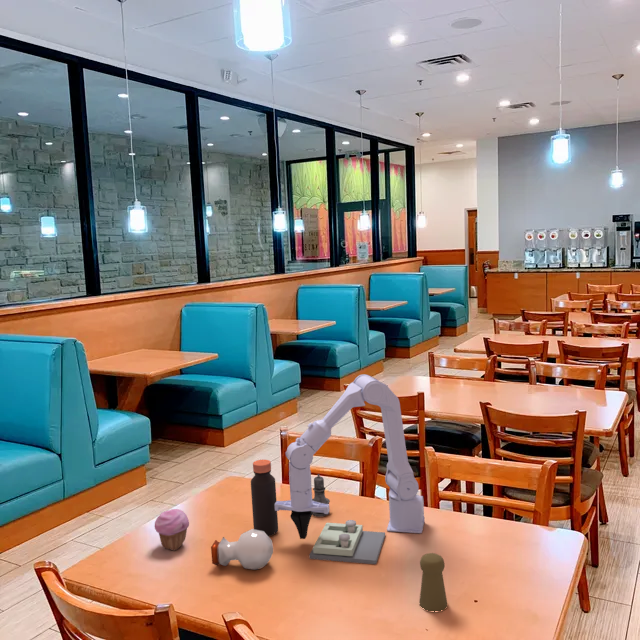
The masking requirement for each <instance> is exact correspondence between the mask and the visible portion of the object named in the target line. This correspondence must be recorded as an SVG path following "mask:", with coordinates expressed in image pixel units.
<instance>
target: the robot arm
mask: <svg viewBox="0 0 640 640" xmlns="http://www.w3.org/2000/svg"><path fill="white" fill-rule="evenodd" d="M365 402H366V403H368V404H369V405H374V406H378V407H379V408H380V411H381V418H382V425H383V432H384V439H385V444H386V445H385V446H386V452H387V460H388V462H387V464H386V473H385V476H384V477H385V478H384V480H385V484H386V485H387V486H388V487H389V492H388V507H389V509H388V510H389V522H388V524H387V527H386V531H387V532H397V533H398V532H399V533H408V534H409V533H411V534H422V533H423V529H424V524H425V508H424V506H425V504H424V502H425V501H424V496H423V495H418V493H419V483H418V481H417V479H416V478H415V476H414V471H413V469H412V467H411V465H410V463H409V460H408V454H407V448H406V447H407V446H406V438H405V432H404V424H403V418H402V410H401V403H400V399H399V397H398V396H397V395H396V394H395V393H394V392H393V391H392V389H390V387H389V386H388V385H387V384H385V383H383V382H382V381H380V380H378V379H377V378H375V377H373V376H371V375H369V374H364V373H363V374H359V375H358V376H357V377H355V379H354V380H353V381H352V382H350V383H349V384H348V385H347V387H346V389H345V391H344V392H343V393H342V395H340V397H339V398H338V400H336V402H335V403H334V405H333V406H332V407H331V408H330V410H329V411H328V412H327V413H326V414H325V415H324V417H323V418H322V419H318V420H314V421H313V422H310V423H308V424H307V429H306V430H305V431H304V432H303V433H302V434H301V435H300V437H296V438H295V441H294V442H291V443H290V444H289V445H288V446H287V449H286V451H285V453H284V454H285V457H286V459H288V460H289V462H288V476H289V477H288V478H289V479H288V482H289V495H290V499H289V500H276V503H275V511H277V512H279V511H289V512H291V514H290V515H289V517H290V520H292V522H293V523H294V525H295V527H296V529H297V532H298V536H299V539H300V540H306V538H307V536H308V531H309V524H310V522H311V519H312V517H313V515H312V514H313V512H319V513H324V514H328V513H329V514H330V503H329V504H324V503H319V502H315V501H312V499H313V487H312V486H313V485H312V471H311V464H312V463H313V459H314V455H315V454H316V453H317V452H318V451H319V449H320V448H321V447H322V446H324V444H325V443H326V442H327V441H328V440H329V438H331V436H332V429H333V428H334V426H335V425H336V424H337V423H338V422H340V420H341V419H342V418H343V417H345V416H346V414H348V412H349V411H351V410H352V408H357V407H365V406H366V404H365ZM329 514H328V515H329Z"/></svg>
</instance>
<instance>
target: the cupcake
mask: <svg viewBox="0 0 640 640" xmlns="http://www.w3.org/2000/svg"><path fill="white" fill-rule="evenodd" d="M189 526H190V521H189V518H188V516H187V514H186V512H184V510H181V509H178V508H174V509H170V510H165V511H162V512H161V513H160V514H159V515H158V516H157V517H156V519H155V521H154V529H155V530H154V531H156V532H157V533H158V536H159V541H160V543H161V546H162V548H163V549H167V550H170V551H177V550H178V549H180V548H181V546H182V545H183V543H184V542H185V540H186V537H187V530H188V528H189Z"/></svg>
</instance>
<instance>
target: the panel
mask: <svg viewBox="0 0 640 640" xmlns="http://www.w3.org/2000/svg"><path fill="white" fill-rule="evenodd" d="M363 527H364V526H363V524H356V526H354V528H355V532H356V533H345V532H346V531H348V526H346V523H339V522H326V523H325V525H324V527H322V530H321V532H320V534H319V536H318V537H317V539H316V541H315V543H314V544H313V547H312V549H313V553H317V554H329V555H342V556H353V553H354V551H355V548H356V546H357V544H358V541H359V539H360V536H361V534H362V531H364V529H363ZM341 534H349V535H350V539H349V540H348V546H350V547H349V548H342V547H339V545H341V540H339V535H341Z"/></svg>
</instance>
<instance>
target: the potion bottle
mask: <svg viewBox="0 0 640 640" xmlns="http://www.w3.org/2000/svg"><path fill="white" fill-rule="evenodd" d="M210 550H211V551H210V552H211V564H212V565H215V566H217V567H218V566H219V565H222V566H224V567H227V566H228V564H230V562H231V561H238V563H239V564H240V565H241V566H242V568H244V569H247V570H253V571H257V570H260V569H263V568H264V567H265V566H266V565H268V563H269V562H270V561H271V558H272V556H273V554H274V545H273V540H272V539H271V536H268V535H267V534H266V533H265V532H264V531H261V530H256V529H254V528H251V529H249V530H247V531H245V532H243V533H241V534H240V536H239V538H238V540H236V541H229V540H227V539H226V538H225V537H222V539H221V541H220V542H219V541H218V540H217V539H215V540H214V542H213V544H212V545H211V546H210Z"/></svg>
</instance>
